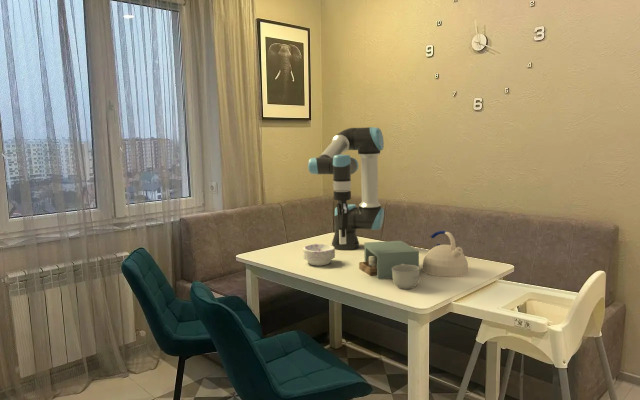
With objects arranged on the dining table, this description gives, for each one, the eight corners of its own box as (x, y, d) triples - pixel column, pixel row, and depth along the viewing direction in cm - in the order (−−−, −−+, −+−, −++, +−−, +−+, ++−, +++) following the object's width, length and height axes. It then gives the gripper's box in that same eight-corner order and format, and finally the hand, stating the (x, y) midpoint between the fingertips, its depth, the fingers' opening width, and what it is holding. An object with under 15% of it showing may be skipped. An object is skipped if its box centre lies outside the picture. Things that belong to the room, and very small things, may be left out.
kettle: (441, 279, 202) (442, 237, 199) (412, 267, 220) (413, 229, 218) (479, 273, 210) (480, 233, 207) (448, 262, 228) (449, 225, 226)
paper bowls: (320, 269, 220) (319, 252, 218) (296, 263, 230) (296, 247, 229) (341, 262, 231) (341, 246, 230) (318, 257, 241) (318, 242, 240)
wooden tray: (359, 269, 220) (359, 254, 219) (390, 266, 225) (390, 251, 224) (370, 276, 208) (370, 261, 207) (403, 273, 213) (403, 257, 212)
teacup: (419, 291, 186) (419, 271, 185) (390, 290, 188) (391, 270, 187) (419, 281, 200) (419, 262, 199) (392, 279, 202) (392, 261, 201)
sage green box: (364, 265, 225) (364, 242, 223) (401, 263, 228) (401, 240, 227) (378, 278, 203) (378, 253, 202) (418, 276, 207) (418, 251, 205)
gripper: (330, 189, 213) (331, 240, 216) (336, 192, 200) (337, 247, 204) (347, 188, 214) (347, 239, 218) (354, 192, 201) (354, 246, 205)
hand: (342, 243), depth 211 cm, fingers closed
